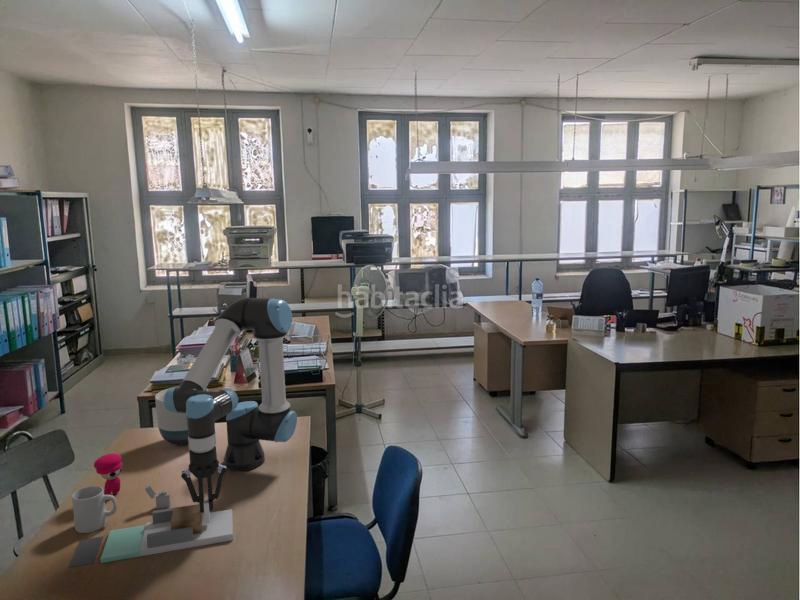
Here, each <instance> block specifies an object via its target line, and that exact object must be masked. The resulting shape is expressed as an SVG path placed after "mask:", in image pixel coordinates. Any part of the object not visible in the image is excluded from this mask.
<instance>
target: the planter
mask: <svg viewBox="0 0 800 600" xmlns="http://www.w3.org/2000/svg"><path fill="white" fill-rule="evenodd" d="M179 386H180V385H179ZM179 386H178V385H177V386H173V387H172V388H175V387H177V388H178V387H179ZM170 388H171V387H170ZM170 388H166V389H163V390H161V391H159V392H157V393H156V394H155V397H154V400H155V411H156V421H157V427H158V430H159V433H160V436H161V437H162V438H163V440H165V441H166V442H167V443H169V444H170V445H174V446H189V442H188V425H187V416H186V413H177V412H172V411H169V410H167V409H166V408H165V406H164V396H165V393H166V392H167V391H168V390H169V389H170ZM204 391H209V389H208V388H207V387H206V389H205V390H204Z"/></svg>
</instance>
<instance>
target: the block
mask: <svg viewBox="0 0 800 600" xmlns="http://www.w3.org/2000/svg"><path fill="white" fill-rule="evenodd" d="M173 508H174V509H173V513H172V518H171V530H176V529H182V528H188V527H193V535H194V534H200V533H201V528H202V519H203V517H202V514H203V513H201V512H200V504H197V503H196V504H191V505H184V506H183V505H182V506H176V507H173Z"/></svg>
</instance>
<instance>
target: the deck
mask: <svg viewBox="0 0 800 600" xmlns="http://www.w3.org/2000/svg"><path fill="white" fill-rule="evenodd" d="M174 508H175V507H168V508H162V509H156V510H152V513H151V514H152V521H149V522H146V524H145V525H146V527H145V531H144V535H143V539H142V543H141V547H140V556H139V557H143V556H149V555H150V556H151V555H156V554H161V553H166V552H173V551H177V550H178V551H179V550H184V549H191V548H195V547H201V546H206V545H213V544H214V545H215V544H218V543H225V542H230V541H234V530H233V529H234V527H233V526H234V525H233V522H234V521H233V520H234V519H233V509H232V508H229V509H226V510H217V511H210V523H206V524H205V517H204V513H202V517H203V519H202V528H201V533H200V534H194V535H193V527H188V528H182V529H176V530H171V518H172V513H173V509H174Z"/></svg>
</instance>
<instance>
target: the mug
mask: <svg viewBox="0 0 800 600" xmlns="http://www.w3.org/2000/svg"><path fill="white" fill-rule="evenodd" d="M71 501H72V503H71V504H72V513H73V519H74V520H73V522H74V529H75V532H77V533H78V534H90V533H94V532H95V531H96V532H97V531H98V530H101V529H102V528H103V527H105V525H106V524H107V517H111V516H113V515H115V514H116V512H117V509H118V502H117V499H116V497H115V495H113V494H111V495H104V488H103V487H102V486H99V485H90V486H86V487H82V488H80V489H78V490H76V491H75V492H73V493H72V495H71ZM106 501H111V502H112V506H113V508H112V509H111V510H106V509H107V508H106Z"/></svg>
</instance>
